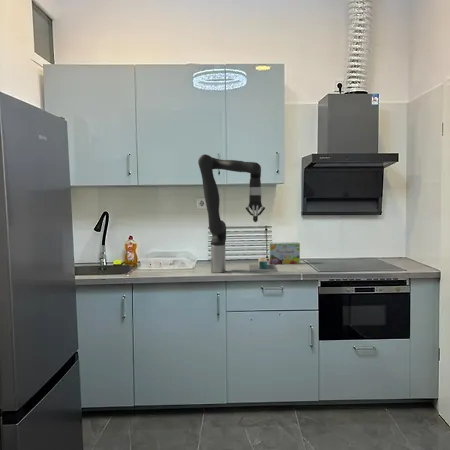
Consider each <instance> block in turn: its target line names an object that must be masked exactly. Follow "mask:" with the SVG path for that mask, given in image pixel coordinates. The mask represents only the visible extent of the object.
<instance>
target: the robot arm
mask: <svg viewBox="0 0 450 450" xmlns="http://www.w3.org/2000/svg"><path fill="white" fill-rule="evenodd" d="M197 164H198V167H199V172H200V174H201V180H202V187H203V188H202V189H203V195H204V200H205V206H206V210H207V214H208V215H207V216H208V229H209V231H210V233H211V234H212V235H211V236H212V237H211V241H210V273H214V274H215V273H225V272H226V271H227V270H226V265H227V264H226V240H227V225H226V222H224V221H223V220H222V219H221V217H220V203H221V202H220V201H221V200H220V194H219V193H220V192H219V188H218V185H217V183H216V180H215V177H214V173H213V172H214V171H213V170H225V171H229V172H236V173H249V175H250V176H249V177H250V179H249V192H248V195H249V196H248V200H249V203H248V205H247V206H246V207H245V210H246V211H247V213H248V214H249V215H250V216H252V222H254V223H257V222H258V219H259V218H258V216H261V214H262V213H263V212H264V210H265V209H266V207H264V206H263V203H262V186H261V185H262V183H261V177H262V166H261V165H260V164H259V163H258V162H256V161H255V162H254V161H244V160H235V159H219V158H215V157H212V156H211V155H209V154H201V155H200V156H199V158H198V163H197ZM250 210H251V211H252V212H251V211H250Z"/></svg>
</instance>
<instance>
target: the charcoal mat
mask: <svg viewBox="0 0 450 450" xmlns="http://www.w3.org/2000/svg"><path fill="white" fill-rule="evenodd" d="M276 265H277V264H269V263H267V269H259V264H249V265H248V267H249V268H248V271H249V273H272V272H273V273H275V272H276V273H278V272H279V270H278V268H277V266H276Z"/></svg>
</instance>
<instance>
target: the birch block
mask: <svg viewBox="0 0 450 450" xmlns="http://www.w3.org/2000/svg"><path fill="white" fill-rule="evenodd" d="M267 264H268V260H267V258H266V257H258V265H259V269H267Z"/></svg>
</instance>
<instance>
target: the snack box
mask: <svg viewBox="0 0 450 450" xmlns="http://www.w3.org/2000/svg"><path fill="white" fill-rule="evenodd" d="M300 244H301V243H300V242H298V241H297V242H296V241H294V242H286V241H285V242H269V243H268V264H275V265H300V264H301V263H300V262H301V261H300V260H301V259H300V258H301V257H300V253H301V251H300V250H301V246H300Z"/></svg>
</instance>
